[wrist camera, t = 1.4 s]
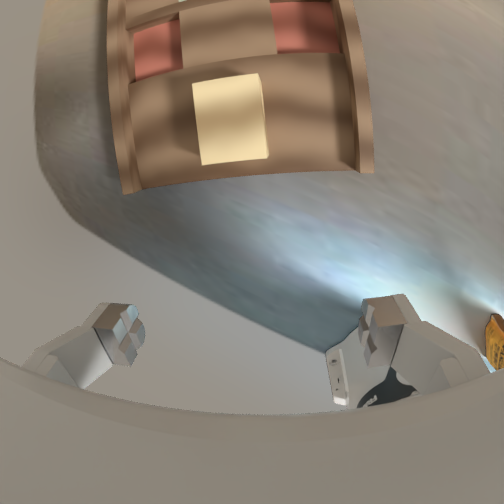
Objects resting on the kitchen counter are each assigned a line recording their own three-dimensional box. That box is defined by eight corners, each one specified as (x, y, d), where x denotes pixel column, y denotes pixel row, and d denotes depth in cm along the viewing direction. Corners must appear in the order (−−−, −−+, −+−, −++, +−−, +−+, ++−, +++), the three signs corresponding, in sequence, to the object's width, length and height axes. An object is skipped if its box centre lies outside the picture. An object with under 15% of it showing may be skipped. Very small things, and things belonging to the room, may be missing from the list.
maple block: (268, 155, 27) (266, 158, 24) (212, 160, 28) (201, 165, 24) (261, 81, 24) (257, 73, 20) (203, 89, 25) (192, 83, 21)
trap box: (362, 167, 29) (374, 173, 25) (141, 186, 33) (123, 195, 28) (323, -56, 16) (327, -74, 11) (126, -23, 19) (111, -34, 15)
